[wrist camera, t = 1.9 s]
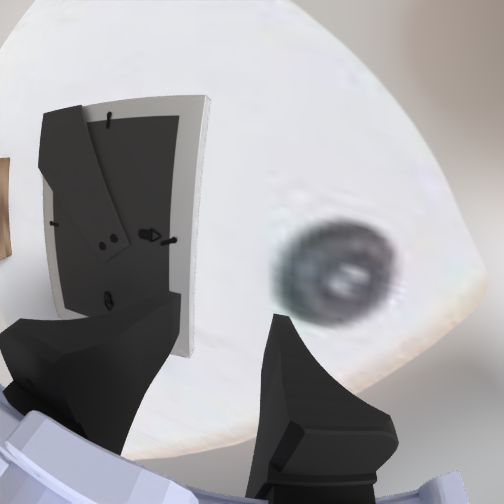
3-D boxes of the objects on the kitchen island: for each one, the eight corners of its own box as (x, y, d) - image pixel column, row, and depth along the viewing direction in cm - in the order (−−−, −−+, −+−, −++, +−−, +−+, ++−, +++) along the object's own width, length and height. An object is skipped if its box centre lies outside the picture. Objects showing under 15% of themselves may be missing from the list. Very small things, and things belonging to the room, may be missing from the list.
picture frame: (62, 115, 19) (68, 308, 25) (43, 113, 16) (53, 320, 22) (213, 101, 18) (196, 345, 24) (202, 91, 15) (187, 363, 21)
